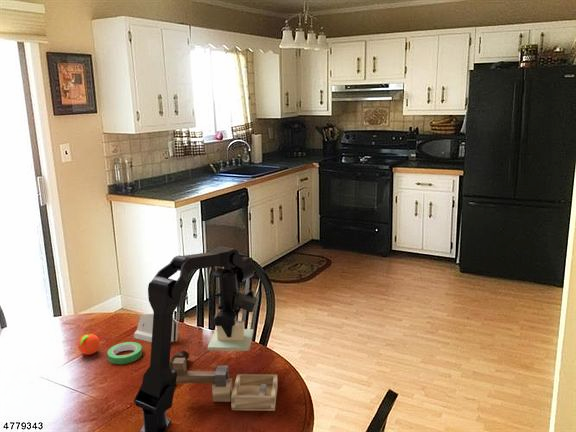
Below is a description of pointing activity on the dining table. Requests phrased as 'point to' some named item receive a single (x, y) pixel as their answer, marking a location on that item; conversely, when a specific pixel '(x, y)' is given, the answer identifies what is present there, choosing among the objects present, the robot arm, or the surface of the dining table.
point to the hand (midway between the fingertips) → (230, 334)
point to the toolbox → (245, 390)
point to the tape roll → (124, 358)
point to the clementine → (88, 344)
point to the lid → (231, 338)
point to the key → (191, 373)
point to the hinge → (147, 325)
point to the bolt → (179, 355)
